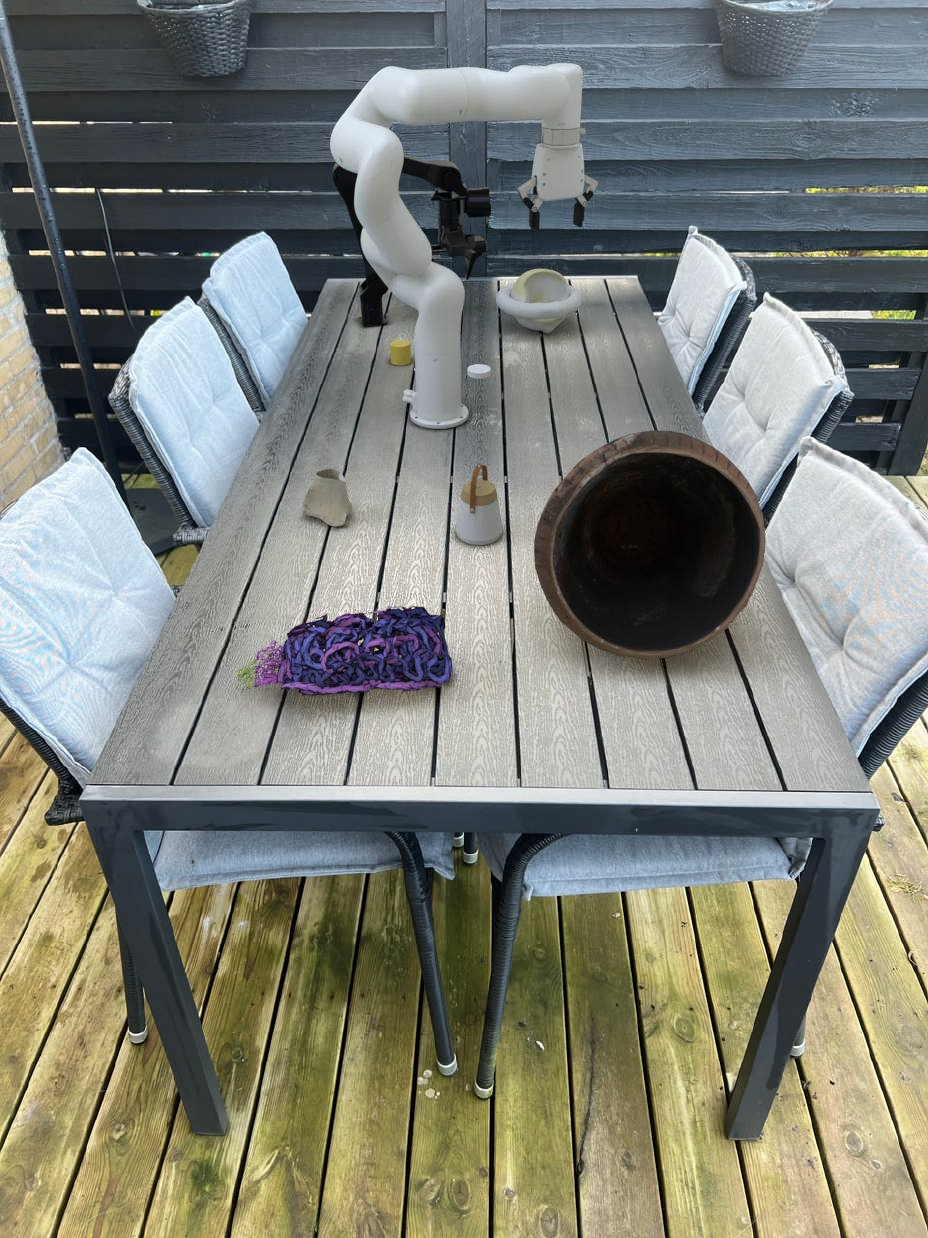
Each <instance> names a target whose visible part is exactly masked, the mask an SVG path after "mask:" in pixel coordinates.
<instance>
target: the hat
mask: <svg viewBox="0 0 928 1238" xmlns="http://www.w3.org/2000/svg"><path fill="white" fill-rule="evenodd" d="M495 303H496V305H497V307H498V308H499V309H500V311H502V312H503V313H505V314H507V315H510V316H513V317H514V318H515V319H516V321H517V322H518V323H519V324H520V325H521V326H523V328H526V329H529V330H531V331H536V332H537V331H539V332H542V333H545V334H550V333H551V332H553V331H554V330H555V328H557V327H558V325H560V324H561V323H562V322H563V321H564V320H565V319H566V318H567V317H568V316H570V315H572V314H574V313H575V312H577V311H578V310H579V309H580V308H581V306H582V303H583V295H582V293H581V292H580V291H579V290H578V289H577V288H575V287H574V286H572V285H570V284H569V283H568V282H567V280H566V278H565V277H564V275H563V274H561V273H560V272H559V271H556V270H553V269H548V268H535V269H530V270H527V271H525V272H523V273H522V274H521V275H520V276H519V277H518V278H517V279H516V281H515V282H513V283H509V284H507V285H505V286H503V287H501V288H500V290H498V292H497V293H496V295H495Z"/></svg>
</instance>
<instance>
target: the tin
mask: <svg viewBox="0 0 928 1238" xmlns="http://www.w3.org/2000/svg"><path fill="white" fill-rule="evenodd" d="M389 350H390V351H389V352H390V363H391V364H392V365H394V366H406V365H407V366H408V365H409V364H411V363H412V353H411V342H410V341H409V340H407V339H395V340H392V341H390V342H389Z"/></svg>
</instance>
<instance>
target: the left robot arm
mask: <svg viewBox="0 0 928 1238" xmlns="http://www.w3.org/2000/svg"><path fill="white" fill-rule="evenodd" d="M401 173H402V174H405V175H409V176H412V177H416V178H419V179H422V180H424V181H426V182H428V183H429V184H431V185H432V186H434V187H436V188H434V190H433V191H432V192H431V193H430V194H429V198H430V201H433V202H437V220H436V225H437V232H438V233H437V236H438V237H436V239H437V243H438V244H437V243H436V244H430V246H431V250H432V256H434V254H436V253H447V254H448V257H450V258H456V257H464V258H465V260H464V263H465V264H464V265H465V266H464V272H465V273H464V274H465V280H466V281H469V280H470V277H471V274H472V271H473V268H474V266H475V263H476V261H477V260H478V258H479V257H482V256H483V255H484V254H485V253H488V250H489V249H488V248H489V246H488V242H487V240H486V239H485V238H483V237H482V236H481V235H474V233H473V232H472V233H465V234H464V231H463V223H462V218H461V217H462V216H461V214H462V213H463V214H465V215H466V216H467V218H468V219H472V218H473V219H474V218H491V215H492V203H491V195H490V194H491V193H490V188H489V187H488V186H482V187H473V188H468V187H467V184H466V183H465V182H463V180H462V174H461V172H460V169H459V168H458V166H457V164H455V162H453V161H449V160H440V159H439V160H438V159H433V160H432V159H431V160H430V159H429V160H428V159H423V158H420V157H419V158H418V157H416V156H413V155H408V154H405V153H404V161H403V167H402V170H401ZM357 176H358V174H357V173H354V172H351V171H349V170H346V169H344V168H343V167H341V166H340V165H339V164H338V163H337V162H336V161H335V163H334V165H333V167H332V182H333V184H334V186H335V188H336V190H337V192H338V194H339V196H340V198H341V200H342V201H343V203H344V205H345V207H346V209H347V212H348V216H349V220H350V222H351V225H352V228H353V231H354V234H355V238H356V242H357V245H358V248H359V250H360V254H361V257H362V260H363V266H364V274H365V275H364V276H365V279H364V280H363V281H362V283H360V285H359V286H358V289H359V291H358V292H359V301H360V302H359V304H360V313H361V315H360V316H358V317H357V319H358V321H359V322H360V324H361V326H362V327H363V328H367V327H376V326H382V325H388V321H387V320H386V318H385V316H384V307H383V297H384V295H386V294H387V292H388V291H389V288H388V287H387V286H386V284H385V283H384V282H383V280H382V279H381V278H380V277H379V275H378V274H377V273H376V271H375V270H374V269H373V267H372V266H371V265H370V263H369V262H368V260H367V259H366V257H365V255H364V253H363V250H362V246H361V233H362V230H363V226H362V224H361V223H360V221H359V219H358V217H357V215H356V212H355V207H354V195H355V186H356V180H357ZM439 189H440V190H442V191H440V190H439ZM452 192H453V193H455V194H453V193H452ZM461 201H462V205H461ZM461 207H462V208H461ZM461 212H462V213H461ZM431 261H432V262H435V259H434V258H433V257H432V260H431Z"/></svg>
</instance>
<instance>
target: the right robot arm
mask: <svg viewBox="0 0 928 1238" xmlns="http://www.w3.org/2000/svg"><path fill="white" fill-rule="evenodd" d="M583 81H584V73H583V68H582V67H581V66H580V65H579V64H577V63H571V62H555V63H550V64H548V65H527V64H522V65H517V66H515V67H512V68H511V69H510V70H509V71H500V70H495V69H490V68H483V67H476V66H475V67H473V66H463V67H450V68H449V67H448V68H429V69H428V68H427V69H409V68H405V67H400V66H395V65H389V66H386V67H384V68H381V69H380V70H379V71H378V72H376V73H375V74H374V75H373V76H372V77H371V79H369V81H368V82H367V83H366V84H365V86H364V87H363V88H362V89H361V91H360V92H359V93H358V94H357V96H356V97H355V98H354V99H353V101H352V102H351V104H349V106H348V108H346V110H345V111H344V113H343V114H342V115H341V116H340V117H339V119H338V120H337V122H336V124H335V125H334V127H333V129H332V131H331V135H330V140H329V149H330V153H331V155H332V158H333V159H334V161H335V163H336V162H337V163H338V164H339V165H340V166H341V167H343V168H344V169H346V170H349V171H351V172H354V173H357V174H358V176H357V180H356V186H355V195H354V207H355V212H356V215H357V217H358V219H359V221H360V223H361V224H362V226H363V230H362V233H361V246H362V250H363V253H364V255H365V257H366V259H367V260H368V262H369V263H370V265H371V266H372V267H373V269H374V270H375V271H376V273H377V274H378V275H379V277H380V278H381V279H382V280H383V282H384V283H385V284H386V286H387V287H388V288H389V289H388V291H390V292H391V293H392V294H393V295H394V296H395V298H397V299H398V300H399V301H401V302H402V303H404V304H405V305H408V306H409V307H412V308H414V309H415V310H417V311H418V316H417V320H416V323H415V326H414V331H413V350H414V369H415V390H414V389H413V390H412V389H408V388H406V389H404V391H403V396H402V402H403V403H406V404H411V406H412V408H411V409H410V411H409V418H410V420H411V422H412V423H414V424H416V426H418V427H421V428H426V429H430V430H431V429H433V430H443V429H445V430H446V429H451V428H455V427H459V426H460V425H463V424H464V423H465V422H466V421H468V419H469V414H470V413H469V409H468V407H467V406H466V405H464V404H462V369H461V368H462V366H461V365H462V363H461V362H462V358H461V357H462V356H461V355H462V353H461V351H462V350H461V348H462V347H461V326H462V316H463V311H464V310H463V309H464V304H465V298H466V295H465V294H466V293H465V287H464V286H465V285H464V283H463V281H462V280H461V278H460V277H459V275H457V273H456V272H454V271H453V270H452V269H450V268H448V267H446V266H444V265H441V264H440V263H437V262H435V261H434V262H432V261H431V260H432V258H433V255H432V250H431V246H430V245H431V242H430V241H429V239H428V237H427V235H426V234H425V233H424V231H423V230H422V228H421V227H420V225H419V224H418V223H417V221H416V219H415V218H414V217H413V215H412V214H411V213H410V211H409V209H408V208H407V206H406V205H405V203H404V201H403V199H402V198H401V195H400V189H399V184H400V178H401V170H402V167H403V161H404V154H405V153H404V147H403V145H402V142H401V140H400V138H399V136H398V135H397V134H396V133H395V132H394V131H392V130H391V129H390V128H391V127H392V126H393V125H394V123H395V122H397V123H400V124H404V125H408V126H414V127H416V126H417V127H419V126H420V127H421V126H431V125H440V124H442V125H443V124H452V123H464V122H497V121H499V122H500V121H533V120H534V121H535V120H541V131H540V132H541V133H540V143H537V144H536V147H535V152H534V157H533V162H532V168H531V169H532V170H531V178H530V179H529V180H528V181H526V182H525V183H523V184H521V185H520V186H518V187H517V191H516V192H517V193H518V195H519V198H520V200H521V202H522V204H524V205H525V206H526V208H527V209H528V214H529V215H528V225H529V227H530V230H532V231H533V232H534V233H539V232H540V228H541V227H540V226H541V225H540V223H541V222H540V221H541V212H540V211H539V209H540V207H541V206H542V204H543V202H549V201H560V200H561V201H562V200H569V199H574V200H575V203H574V204H573V215H572V224H573V225H574V226H576V227H578V228H582V227H583V222H584V221H585V208H586V207H587V206H588V203H589V201H591V199H592V198H593V196H594V193H595V191H596V189H597V187H598V185H599V181H598V180H596V179H594V178H593V177H590V176H589V175H587V174H585V160H584V159H585V158H584V157H585V156H584V149H583V144H582V142H581V138H582V137H585V136H586V134H587V130H586V128H585V127H582V125H581V117H582V100H583V99H582V98H583ZM585 183H586V184H587V188H586V190H584V188H585ZM529 191H530V195H532V197H531V198H529V196H528V192H529Z"/></svg>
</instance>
